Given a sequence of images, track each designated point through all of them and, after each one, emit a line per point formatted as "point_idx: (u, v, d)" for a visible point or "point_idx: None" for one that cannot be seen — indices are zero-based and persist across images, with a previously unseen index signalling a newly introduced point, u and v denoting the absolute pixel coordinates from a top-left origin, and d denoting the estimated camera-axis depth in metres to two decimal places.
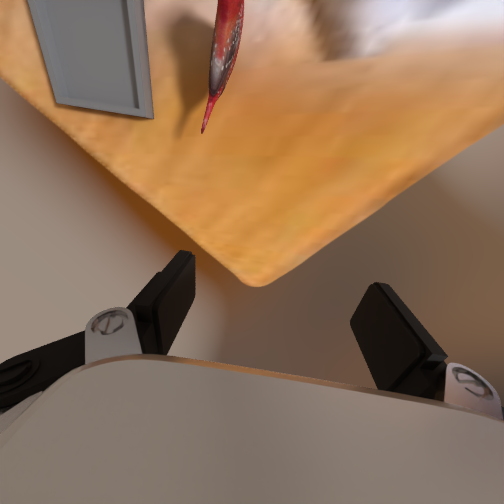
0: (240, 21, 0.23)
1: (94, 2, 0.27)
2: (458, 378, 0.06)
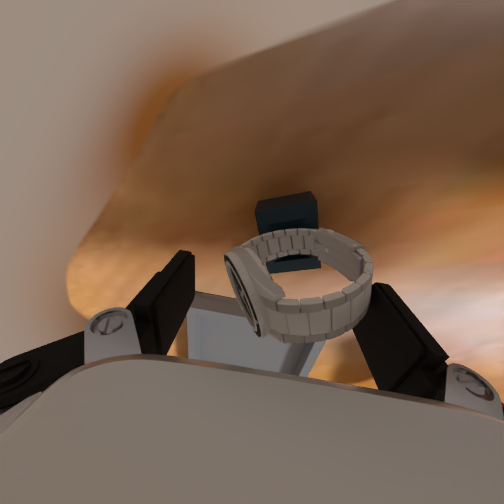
0: None
1: None
2: (459, 378, 0.06)
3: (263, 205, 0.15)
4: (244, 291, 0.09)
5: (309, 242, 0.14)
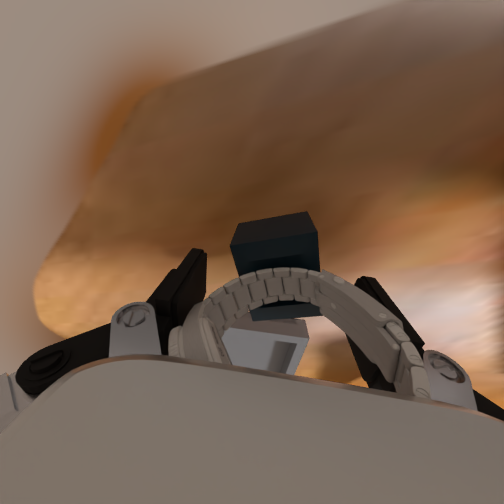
0: None
1: None
2: (434, 364, 0.06)
3: (243, 233, 0.11)
4: None
5: (306, 288, 0.10)
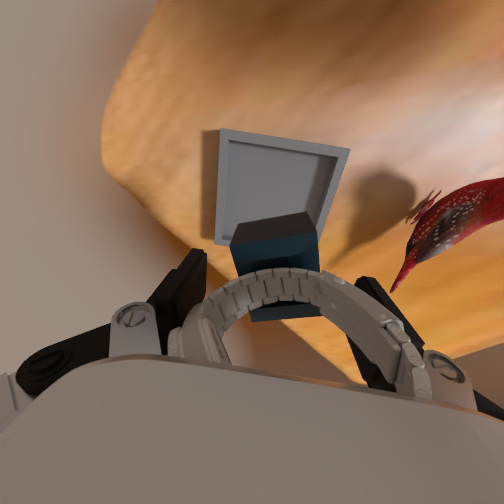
0: None
1: (286, 160, 0.25)
2: (434, 364, 0.06)
3: (243, 234, 0.11)
4: None
5: (306, 288, 0.10)
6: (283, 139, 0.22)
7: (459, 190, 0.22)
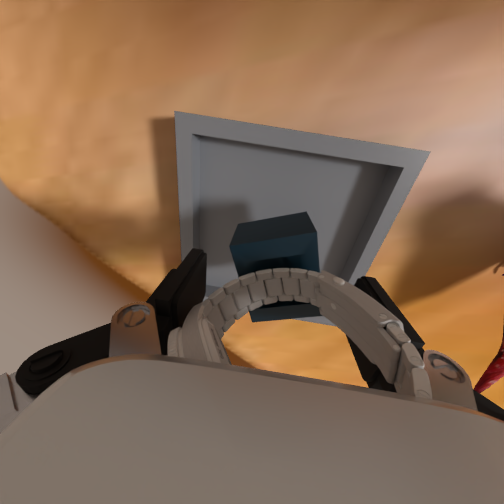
0: None
1: (301, 172, 0.14)
2: (434, 364, 0.06)
3: (242, 234, 0.11)
4: None
5: (306, 288, 0.10)
6: (298, 133, 0.11)
7: None
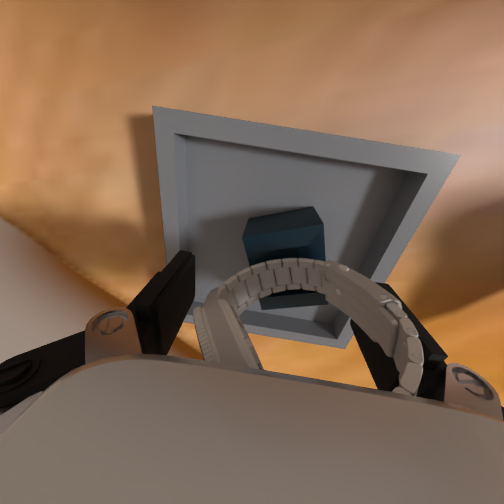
0: None
1: (305, 178, 0.12)
2: (458, 378, 0.06)
3: (254, 227, 0.12)
4: None
5: (313, 277, 0.11)
6: (301, 132, 0.10)
7: None
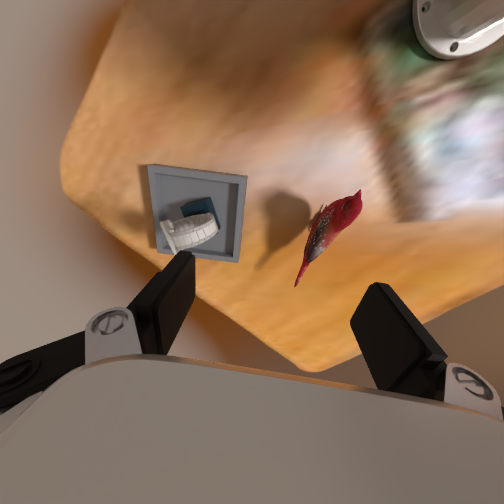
0: None
1: (205, 186, 0.32)
2: (458, 378, 0.06)
3: (186, 204, 0.32)
4: (163, 232, 0.25)
5: (205, 220, 0.31)
6: (195, 172, 0.30)
7: (328, 206, 0.29)
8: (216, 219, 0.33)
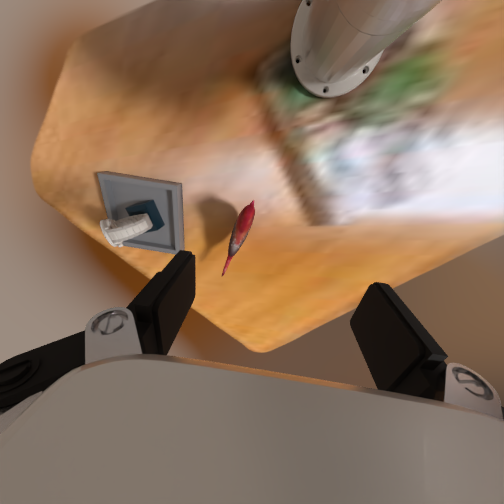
0: (251, 224, 0.35)
1: (147, 191, 0.39)
2: (458, 378, 0.06)
3: (131, 205, 0.39)
4: None
5: None
6: (136, 179, 0.36)
7: None
8: (158, 218, 0.40)
